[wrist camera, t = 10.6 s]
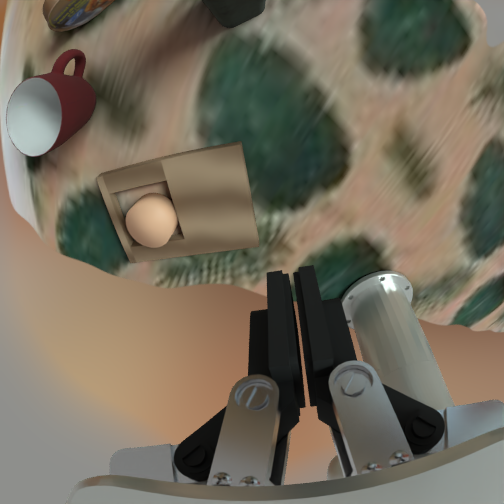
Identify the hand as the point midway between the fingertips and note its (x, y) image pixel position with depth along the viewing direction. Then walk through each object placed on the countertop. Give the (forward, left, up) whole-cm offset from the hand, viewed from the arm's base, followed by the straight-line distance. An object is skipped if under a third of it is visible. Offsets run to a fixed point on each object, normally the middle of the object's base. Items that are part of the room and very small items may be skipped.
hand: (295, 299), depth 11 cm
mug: (+12, +20, -25) cm, 34 cm away
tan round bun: (-6, +15, -24) cm, 29 cm away
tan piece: (-6, +12, -24) cm, 28 cm away
